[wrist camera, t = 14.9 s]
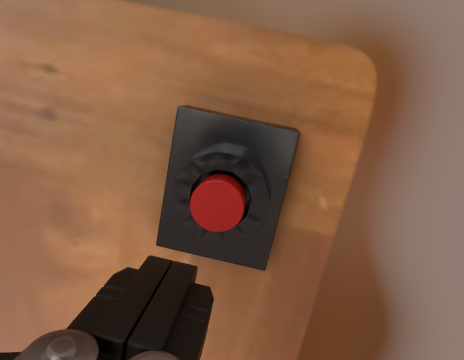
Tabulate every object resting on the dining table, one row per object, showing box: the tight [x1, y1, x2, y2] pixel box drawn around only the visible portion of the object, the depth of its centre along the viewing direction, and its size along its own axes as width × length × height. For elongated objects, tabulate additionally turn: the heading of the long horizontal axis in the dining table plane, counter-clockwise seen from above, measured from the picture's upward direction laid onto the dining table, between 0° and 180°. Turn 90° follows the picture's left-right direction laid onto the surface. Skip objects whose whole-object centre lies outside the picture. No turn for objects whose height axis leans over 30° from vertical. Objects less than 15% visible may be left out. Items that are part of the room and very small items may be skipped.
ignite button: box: [190, 174, 246, 232], centre depth 20 cm, size 3×3×2 cm
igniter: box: [156, 105, 300, 271], centre depth 23 cm, size 10×8×4 cm
